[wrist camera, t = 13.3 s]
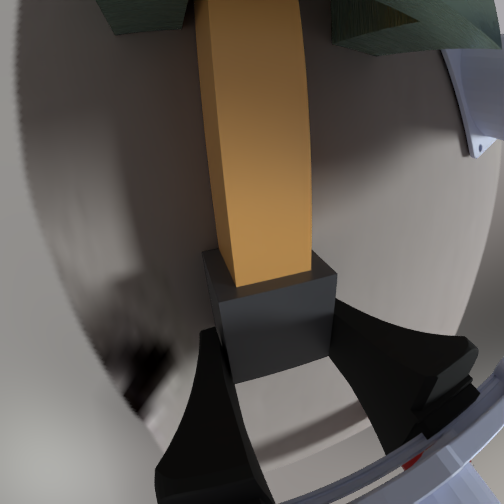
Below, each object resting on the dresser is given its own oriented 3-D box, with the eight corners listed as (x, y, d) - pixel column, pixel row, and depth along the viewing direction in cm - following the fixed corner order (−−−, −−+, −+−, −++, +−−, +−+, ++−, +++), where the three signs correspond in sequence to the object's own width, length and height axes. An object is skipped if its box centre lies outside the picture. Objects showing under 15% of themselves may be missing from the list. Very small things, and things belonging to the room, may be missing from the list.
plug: (173, -66, 5) (182, -116, 2) (270, -65, 6) (305, -105, 3) (219, 342, 14) (236, 398, 11) (294, 322, 15) (326, 370, 12)
